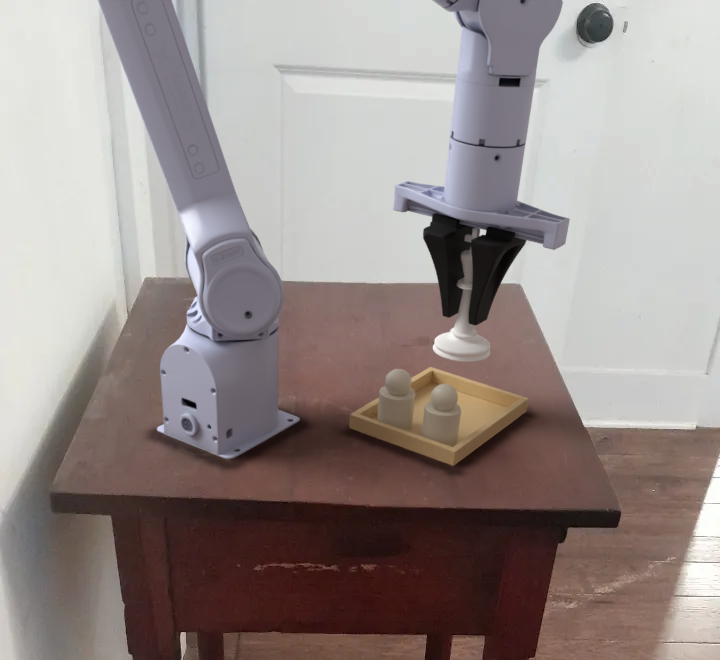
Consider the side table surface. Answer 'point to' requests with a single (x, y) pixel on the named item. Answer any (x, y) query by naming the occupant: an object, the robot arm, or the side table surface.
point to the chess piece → (463, 321)
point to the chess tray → (477, 421)
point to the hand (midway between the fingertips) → (464, 317)
